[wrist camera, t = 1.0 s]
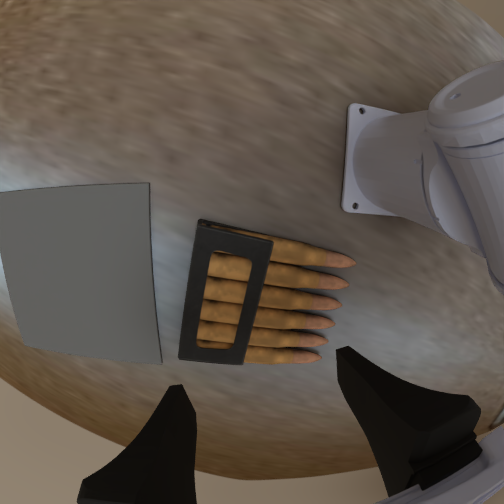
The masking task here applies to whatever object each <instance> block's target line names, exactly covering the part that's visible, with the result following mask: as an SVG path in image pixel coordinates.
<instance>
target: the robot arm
mask: <svg viewBox="0 0 504 504" xmlns="http://www.w3.org/2000/svg"><path fill="white" fill-rule="evenodd" d="M360 108H361V109H362V110H363V114H360V112H359V109H360ZM354 203H356V204H357V206H356V208H355V209H353V208H352V205H353V204H354ZM341 207H342V209H343V210H344V211H346V212H350V213H363V214H376V215H388V216H399V217H403V218H406V219H408V220H411V221H413V222H415V223H418V224H420V225H422V226H425V227H427V228H429V229H432V230H434V231H436V232H438V233H441V234H443V235H445V236H447V237H449V238H452V239H454V240H456V241H458V242H460V243H463V244H466V245H468V246H469V248H470V250H471V251H472V252H474V253H476V254H478V255H480V256H482V257H484V258H487V259H486V260H487V265H488V271H489V275H490V278H491V280H492V282H493V284H494V286H495V287H496V288H497V289H498V291H499V292H500V293H502V294H503V295H504V61H498V62H494V63H490V64H487V65H484V66H481V67H479V68H476V69H474V70H472V71H470V72H468V73H466V74H464V75H462V76H460V77H458V78H457V79H455V80H453V81H452V82H450V83H449V84H448V85H446V86H445V87H444V88H442V89H441V90H440V91H439V92H438V93H437V94H436V95H435V96H434V97H433V99H432V100H431V102H430V104H429V108H428V110H424V111H417V112H410V113H404V114H400V113H397V112H393V111H389V110H385V109H380V108H376V107H372V106H367V105H362V104H357V103H353V104H351V105H349V107H348V117H347V138H346V155H345V169H344V181H343V192H342V202H341ZM336 359H337V377H338V383H339V385H340V388H341V390H342V393H343V395H344V398H345V399H346V401H347V403H348V405H349V406H350V408H351V410H352V412H353V413H354V415H355V417H356V419H357V420H358V422H359V424H360V426H361V427H362V429H363V431H364V433H365V435H366V437H367V439H368V441H369V444H370V446H371V448H372V451H373V453H374V456H375V459H376V461H377V464H378V466H379V469H380V472H381V475H382V478H383V481H384V483H385V487H386V490H387V493H388V496H389V498H386V499H384V500H382V501H379V502H377V503H374V504H482V503H483V502H485V501H486V500H487V499H489V498H490V497H491V496H492V495H494V494H495V493H496V492H497V491H499V490H500V489H501V488H502V487H504V429H503V427H502V426H499V427H498V428H497V429H495V430H494V431H493V432H491V433H490V434H489V435H487V436H486V437H485V438H483V439H482V440H481V441H480V442H479V443H477V442H476V440H475V439H476V437H477V436H476V434H475V433H474V432H473V430H474V428H475V426H476V424H477V422H478V420H479V417H480V415H481V409H480V407H479V406H478V405H477V404H476V403H475V402H474V400H473V399H472V398H470V397H469V396H468V395H459V394H450V393H444V392H439V391H434V390H430V389H427V388H424V387H420V386H417V385H414V384H412V383H409V382H407V381H405V380H402V379H400V378H398V377H396V376H394V375H392V374H390V373H388V372H387V371H385V370H383V369H382V368H380V367H378V366H377V365H375V364H374V363H372V362H371V361H369V360H368V359H366V358H365V357H363V356H362V355H360V354H359V353H358V352H356V351H355V350H354V349H352V348H351V347H349V346H346V347H343V348H340V349H336ZM196 438H197V422H196V412H195V410H194V408H193V406H192V404H191V402H190V400H189V398H188V396H187V394H186V391H185V389H184V387H183V385H182V384H180V385H173V386H169V388H168V390H167V391H166V393H165V395H164V396H163V398H162V400H161V401H160V403H159V405H158V406H157V408H156V409H155V411H154V413H153V414H152V416H151V417H150V419H149V420H148V422H147V423H146V424H145V426H144V427H143V429H142V430H141V431H140V433H139V434H138V435H137V436H136V438H135V439H134V440H133V441H132V442H131V443H130V444H129V445H128V446H127V447H126V448H125V449H124V450H123V451H122V452H121V453H120V454H119V455H118V456H117V457H116V458H114V459H113V460H112V461H111V462H109V463H108V464H107V465H106V466H104V467H103V468H101V469H100V470H98V471H97V472H95V473H94V474H92V475H90V476H88V477H87V478H85V479H83V481H82V484H81V487H80V491H79V494H78V498H77V503H78V504H197V501H196V492H195V478H194V467H195V453H196Z"/></svg>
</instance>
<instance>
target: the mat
mask: <svg viewBox="0 0 504 504" xmlns="http://www.w3.org/2000/svg"><path fill="white" fill-rule="evenodd" d="M0 253H1V258H2V264H3V269H4V274H5V278H6V283H7V287H8V291H9V295H10V299H11V303H12V306H13V310H14V314H15V317H16V320H17V324H18V327H19V330H20V333H21V336H22V339H23V342H24V345H25V346H29V347H34V348H39V349H44V350H49V351H54V352H60V353H66V354H72V355H78V356H85V357H92V358H100V359H108V360H116V361H125V362H136V363H147V364H160V365H162V356H161V349H160V341H159V333H158V324H157V315H156V305H155V294H154V282H153V268H152V251H151V227H150V183H127V184H100V185H81V186H65V187H51V188H39V189H28V190H18V191H9V192H0Z"/></svg>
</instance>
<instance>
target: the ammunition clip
mask: <svg viewBox="0 0 504 504" xmlns="http://www.w3.org/2000/svg"><path fill="white" fill-rule="evenodd" d="M214 251H215V252H214ZM220 252H221V253H220ZM226 253H227V254H226ZM231 254H233V255H231ZM237 255H238V256H237ZM271 261H276V262H271ZM277 262H282V263H277ZM283 263H289V264H295V265H315V266H325V267H334V268H344V267H351V266H354V265H356V262H355V261H354V260H352V259H351V258H349V257H347V256H345V255H342V254H339V253H336V252H333V251H328V250H325V249H321V248H317V247H314V246H311V245H309V244H306V243H303V242H298V241H293V240H288V239H283V238H277V237H272V236H269V235H266V234H262V233H258V232H254V231H249V230H245V229H241V228H237V227H232V226H228V225H224V224H220V223H215V222H211V221H207V220H202V219H200V220H198V224H197V229H196V235H195V241H194V246H193V252H192V259H191V265H190V271H189V278H188V284H187V291H186V298H185V305H184V312H183V320H182V328H181V335H180V344H179V352H178V358H179V360H187V361H196V362H206V363H218V364H230V365H243V362H248V363H260V364H280V363H309V362H314V361H318V360H320V359H321V358H322V357H321V356H320V355H318V354H315V353H312V352H308V351H303V350H295V349H289V348H282V347H313V346H320V345H324V344H326V343H328V340H327V339H325V338H323V337H321V336H318V335H314V334H309V333H302V332H296V331H289V330H286V329H293V328H295V329H323V328H329V327H332V326H334V325H335V323H334V322H333V321H331V320H330V319H327V318H324V317H321V316H317V315H311V314H304V313H300V312H294V311H291V310H293V309H306V310H309V309H311V310H331V309H336V308H339V307H341V306H342V304H341V303H340V302H338V301H336V300H334V299H332V298H329V297H325V296H321V295H315V294H311V293H306V292H301V291H298V290H295V289H292V288H314V289H315V288H317V289H342V288H346V287H348V286H349V283H347V282H346V281H344V280H343V279H340V278H338V277H335V276H332V275H329V274H324V273H319V272H316V271H311V270H307V269H305V268H302V267H299V266H295V265H289V264H283ZM273 285H274V286H273ZM280 286H282V287H280ZM286 287H289V288H286Z"/></svg>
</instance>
